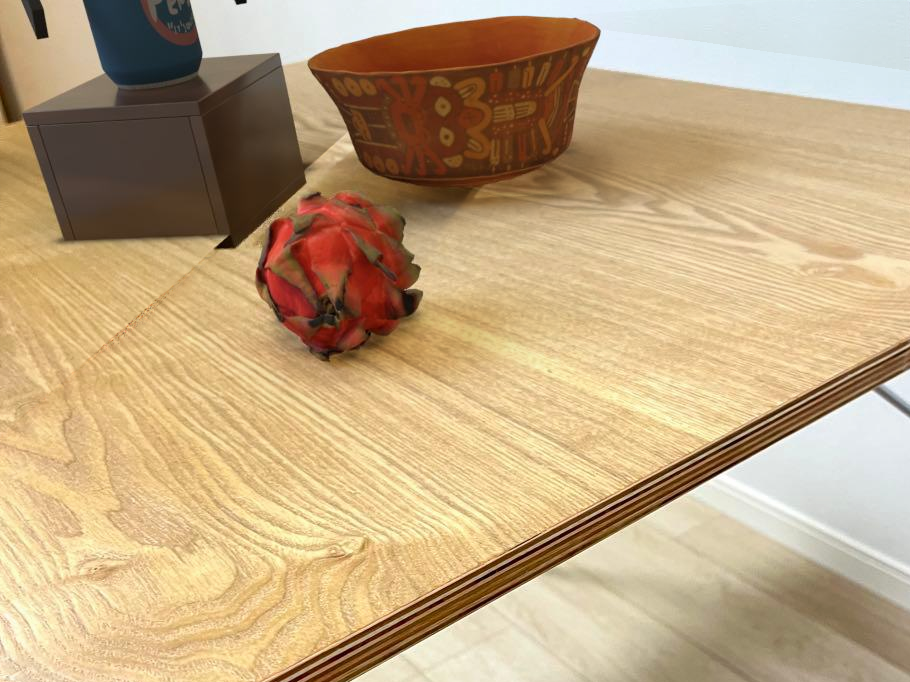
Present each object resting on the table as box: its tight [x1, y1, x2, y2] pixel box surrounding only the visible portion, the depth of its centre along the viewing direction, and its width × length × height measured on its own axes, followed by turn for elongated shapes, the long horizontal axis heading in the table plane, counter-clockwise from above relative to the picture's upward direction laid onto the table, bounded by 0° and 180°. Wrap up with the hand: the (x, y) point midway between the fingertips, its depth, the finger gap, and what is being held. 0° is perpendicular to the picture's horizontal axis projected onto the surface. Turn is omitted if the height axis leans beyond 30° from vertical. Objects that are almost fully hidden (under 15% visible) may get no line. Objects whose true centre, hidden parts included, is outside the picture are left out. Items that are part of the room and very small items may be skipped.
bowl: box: [306, 15, 602, 189], centre depth 85 cm, size 21×21×10 cm
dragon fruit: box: [254, 189, 424, 363], centre depth 62 cm, size 8×8×12 cm
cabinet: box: [21, 52, 308, 250], centre depth 84 cm, size 15×13×10 cm
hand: (144, 7), depth 76 cm, fingers open, 13 cm apart
